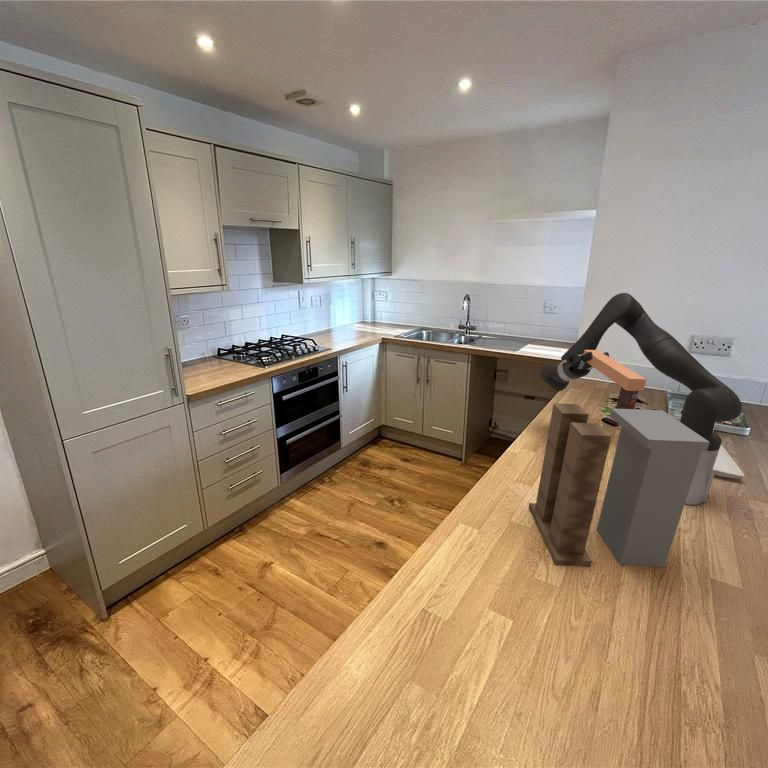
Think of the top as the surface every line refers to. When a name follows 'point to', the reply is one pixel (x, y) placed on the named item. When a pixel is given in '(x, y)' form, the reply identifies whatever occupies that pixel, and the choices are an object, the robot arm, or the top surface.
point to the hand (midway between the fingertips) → (599, 355)
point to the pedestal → (648, 485)
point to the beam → (616, 371)
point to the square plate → (726, 465)
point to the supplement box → (626, 399)
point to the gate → (570, 483)
